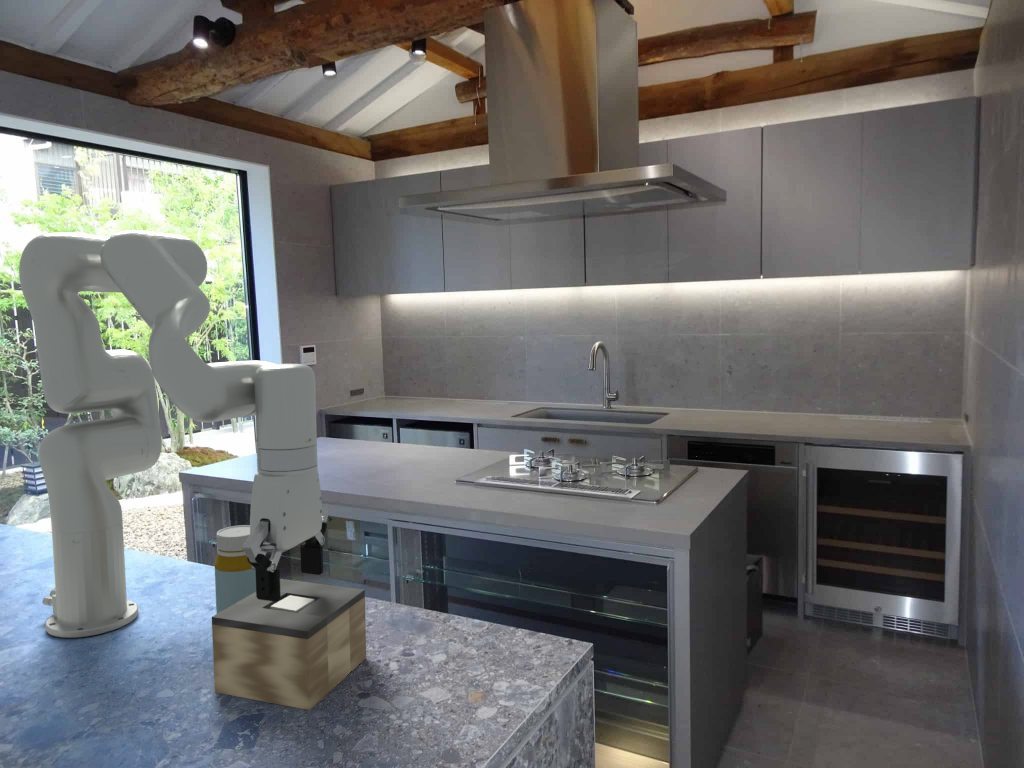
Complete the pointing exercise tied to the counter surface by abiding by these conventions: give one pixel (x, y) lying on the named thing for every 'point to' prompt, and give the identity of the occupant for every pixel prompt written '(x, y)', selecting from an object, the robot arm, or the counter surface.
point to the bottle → (232, 567)
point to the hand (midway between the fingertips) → (291, 585)
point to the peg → (292, 604)
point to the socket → (289, 645)
